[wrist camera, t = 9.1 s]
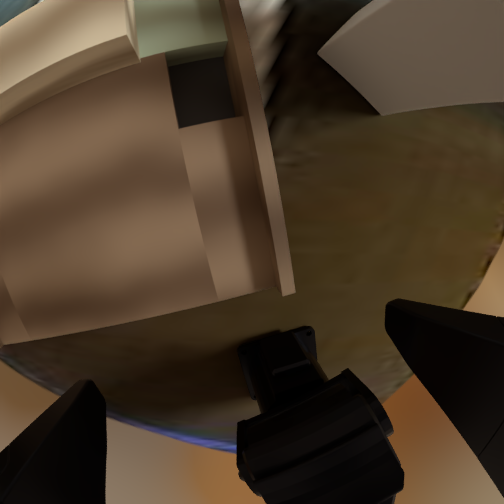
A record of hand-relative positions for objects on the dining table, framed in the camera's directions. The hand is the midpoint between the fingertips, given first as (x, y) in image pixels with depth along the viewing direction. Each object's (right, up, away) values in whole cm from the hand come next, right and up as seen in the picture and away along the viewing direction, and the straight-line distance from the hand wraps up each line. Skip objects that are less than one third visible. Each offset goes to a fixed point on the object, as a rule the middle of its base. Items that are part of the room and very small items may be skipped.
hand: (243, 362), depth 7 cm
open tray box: (-12, +9, +9) cm, 17 cm away
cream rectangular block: (-12, +15, +4) cm, 19 cm away
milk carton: (+10, +18, +11) cm, 23 cm away
